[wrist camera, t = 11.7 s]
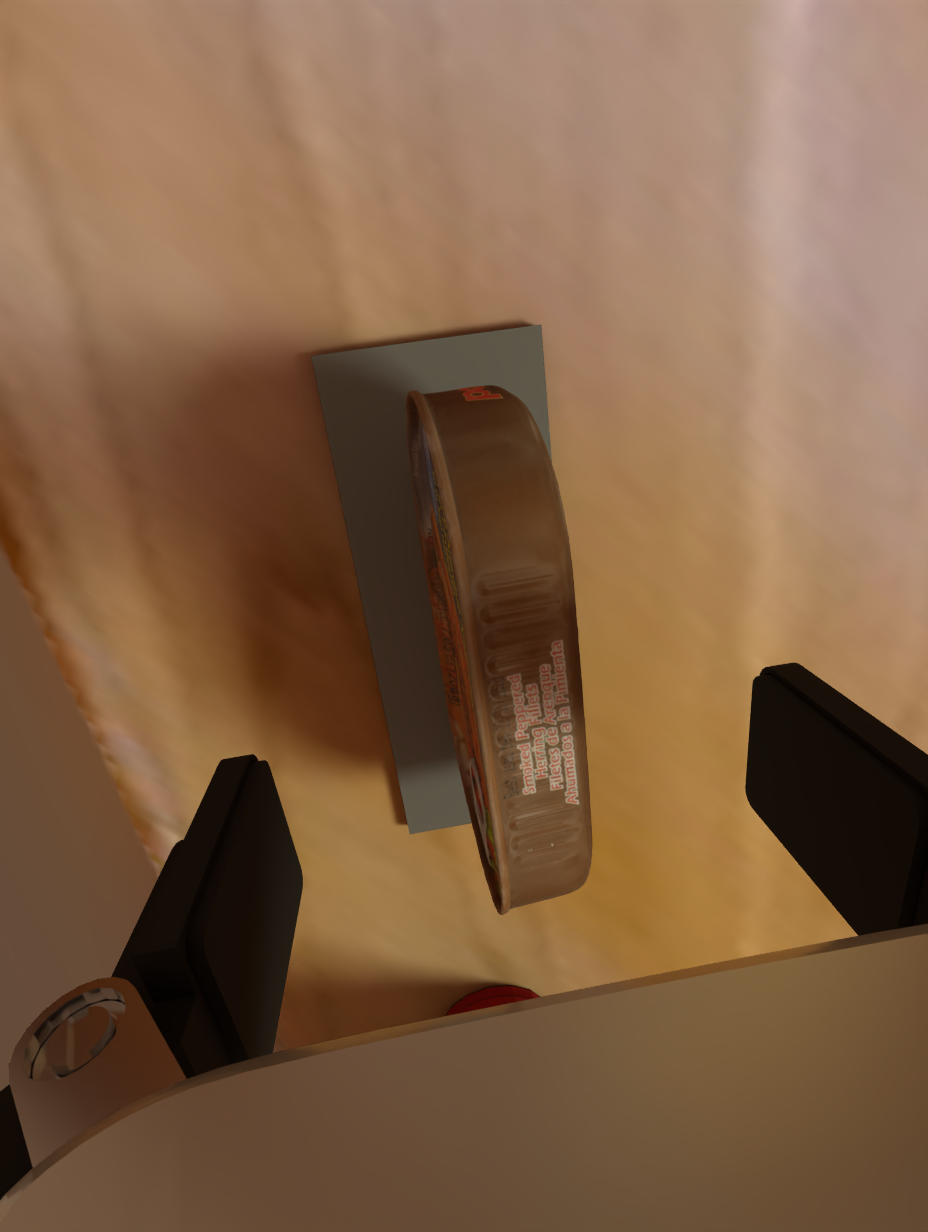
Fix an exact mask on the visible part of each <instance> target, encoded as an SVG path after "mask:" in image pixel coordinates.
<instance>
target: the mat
mask: <svg viewBox="0 0 928 1232" xmlns="http://www.w3.org/2000/svg"><path fill="white" fill-rule="evenodd" d="M311 358H312V363H313V367H314V372H315V377H316V382H317V387H318V392H319V397H320V401H321V406H322V411H323V416H324V421H325V426H326V431H327V435H328V440H329V445H330V450H331V455H332V460H333V464H334V469H335V474H336V479H337V484H338V489H339V494H340V498H341V503H342V508H343V513H344V518H345V523H346V528H347V532H348V537H349V542H350V547H351V552H352V557H353V561H354V566H355V571H356V576H357V581H358V586H359V591H360V595H361V600H362V605H363V610H364V615H365V620H366V625H367V629H368V634H369V639H370V644H371V649H372V654H373V658H374V663H375V668H376V673H377V678H378V683H379V688H380V692H381V697H382V702H383V707H384V712H385V717H386V722H387V726H388V731H389V736H390V741H391V746H392V751H393V755H394V760H395V765H396V770H397V775H398V780H399V785H400V789H401V794H402V799H403V804H404V809H405V814H406V819H407V823H408V828H409V833H410V834H414V833H419V832H425V831H430V830H436V829H442V828H447V827H453V826H458V825H464V824H469V823H472V822H471V818H470V814H469V809H468V805H467V802H466V798H465V793H464V788H463V785H462V780H461V775H460V771H459V766H458V761H457V756H456V752H455V746H454V741H453V734H452V730H451V725H450V721H449V715H448V709H447V703H446V697H445V691H444V685H443V679H442V673H441V666H440V660H439V654H438V647H437V641H436V636H435V629H434V622H433V617H432V611H431V604H430V598H429V592H428V586H427V580H426V574H425V568H424V562H423V556H422V549H421V544H420V537H419V531H418V525H417V517H416V511H415V502H414V497H413V492H412V485H411V477H410V470H409V463H408V453H407V429H406V398H407V395H408V392H410V391H414V390H415V391H418V392H420V393H421V394H427V393H436V392H443V391H449V390H455V389H461V388H467V387H474V386H486V385H495V386H499V387H501V388H503V389H505V390H507V391H508V392H510V393H512V394H513V395H515V396H517V397H518V398H519V399H520V400H521V401H522V402H523V403H524V404H525V405H526V406H527V408H528V409H529V411H530V413H531V414H532V416H533V418H534V420H535V422H536V424H537V426H538V428H539V430H540V433H541V435H542V437H543V440H544V442H545V444H546V447H547V450H548V453H549V456H550V460H551V447H550V434H549V421H548V407H547V394H546V381H545V367H544V354H543V341H542V328H541V325H534V326H527V327H520V328H512V329H505V330H498V331H490V332H483V333H476V334H468V335H461V336H454V337H446V338H439V339H431V340H424V341H417V342H409V343H402V344H395V345H387V346H380V347H373V348H365V349H358V350H351V351H343V352H336V353H329V354H321V355H314V356H311ZM551 463H552V460H551Z"/></svg>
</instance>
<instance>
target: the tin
mask: <svg viewBox="0 0 928 1232" xmlns="http://www.w3.org/2000/svg"><path fill="white" fill-rule="evenodd" d="M406 429H407V453H408V463H409V470H410V477H411V485H412V492H413V497H414V502H415V511H416V517H417V525H418V531H419V537H420V544H421V549H422V556H423V562H424V568H425V574H426V580H427V586H428V592H429V598H430V604H431V611H432V617H433V622H434V629H435V636H436V641H437V647H438V654H439V660H440V666H441V673H442V679H443V685H444V691H445V697H446V703H447V709H448V715H449V721H450V725H451V730H452V734H453V741H454V746H455V752H456V756H457V761H458V766H459V771H460V775H461V780H462V785H463V788H464V793H465V798H466V802H467V805H468V809H469V814H470V818H471V822H472V826H473V830H474V833H475V837H476V841H477V846H478V850H479V854H480V858H481V863H482V866H483V869H484V872H485V877H486V881H487V883H488V886H489V890H490V893H491V896H492V900H493V902H494V905H495V907H496V909H497V912H498V913H499V914H500V915H504V914H506V913H507V912H508V911H509V910H510V909H512V908H515V907H519V906H524V905H527V904H531V903H535V902H539V901H543V900H547V899H551V898H555V897H558V896H562V895H565V894H568V893H571V892H573V891H575V890H578V889H579V888H580V887H582V886H583V884H584V883H585V882H586V880H587V877H588V875H589V871H590V866H591V857H592V826H591V810H590V792H589V776H588V762H587V747H586V733H585V718H584V707H583V691H582V678H581V665H580V653H579V643H578V627H577V617H576V604H575V592H574V581H573V569H572V560H571V553H570V545H569V537H568V532H567V526H566V521H565V516H564V511H563V506H562V501H561V496H560V492H559V487H558V483H557V480H556V476H555V473H554V470H553V466H552V463H551V460H550V456H549V453H548V450H547V447H546V444H545V442H544V440H543V437H542V435H541V433H540V430H539V428H538V426H537V424H536V422H535V420H534V418H533V416H532V414H531V413H530V411H529V409H528V408H527V406H526V405H525V404H524V403H523V402H522V401H521V400H520V399H519V398H518V397H517V396H515V395H513V394H512V393H510V392H508V391H507V390H505V389H503V388H501V387H499V386H495V385H486V386H474V387H467V388H461V389H455V390H449V391H443V392H436V393H427V394H421V393H420V392H418V391H415V390H414V391H410V392H408V395H407V398H406Z"/></svg>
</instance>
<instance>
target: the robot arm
mask: <svg viewBox="0 0 928 1232" xmlns="http://www.w3.org/2000/svg"><path fill="white" fill-rule="evenodd" d="M745 789H746V796H747V799H748V801H749V803H750V805H751V807H752V808H753V810H754V811H755V812H756V813H757V814H758V816H759V817H760V818H761V819H762V820H763V822H764V823H765V824H766V825H767V826H768V828H769V829H770V830H771V831H772V832H773V834H774V835H775V836H776V837H777V838H778V840H779V841H780V842H781V843H782V844H783V846H784V847H785V848H786V849H787V850H788V852H789V853H790V854H791V855H792V856H793V858H794V859H795V860H796V861H797V862H798V864H799V865H800V866H801V867H802V868H803V870H804V871H805V872H806V873H807V875H808V876H809V877H810V878H811V879H812V881H813V882H814V883H815V884H816V885H817V887H818V888H819V889H820V890H821V891H822V893H823V894H824V895H825V896H826V897H827V899H828V900H829V901H830V902H831V903H832V905H833V906H834V907H835V908H836V909H837V911H838V912H839V913H840V914H841V915H842V917H843V918H844V919H845V920H846V921H847V923H848V924H849V925H850V926H851V927H852V929H853V930H854V931H855V932H856V933H857V935H858V936H855V937H850V938H845V939H839V940H834V941H829V942H823V943H818V944H813V945H808V946H802V947H797V948H792V949H786V950H781V951H776V952H770V953H765V954H760V955H755V956H749V957H744V958H739V959H733V960H728V961H723V962H718V963H713V964H708V965H702V966H697V967H692V968H687V969H682V970H677V971H672V972H666V973H661V974H656V975H651V976H646V977H641V978H636V979H630V980H625V981H620V982H615V983H610V984H605V985H600V986H595V987H590V988H585V989H579V990H574V991H569V992H564V993H559V994H554V995H549V996H544V997H539V998H534V999H529V1000H524V1001H519V1002H514V1003H509V1004H504V1005H499V1006H494V1007H489V1008H484V1009H479V1010H474V1011H469V1012H464V1013H459V1014H454V1015H449V1016H444V1017H440V1018H435V1019H430V1020H425V1021H420V1022H415V1023H410V1024H405V1025H400V1026H395V1027H390V1028H385V1029H380V1030H376V1031H371V1032H366V1033H362V1034H357V1035H353V1036H348V1037H344V1038H339V1039H335V1040H330V1041H326V1042H321V1043H316V1044H312V1045H307V1046H303V1047H298V1048H294V1049H289V1050H285V1051H280V1052H276V1053H273V1048H274V1042H275V1037H276V1031H277V1026H278V1020H279V1015H280V1009H281V1004H282V998H283V993H284V988H285V982H286V977H287V971H288V966H289V960H290V955H291V949H292V944H293V938H294V933H295V927H296V922H297V916H298V911H299V905H300V900H301V894H302V888H303V876H302V870H301V866H300V863H299V860H298V856H297V853H296V850H295V847H294V844H293V840H292V837H291V834H290V831H289V827H288V824H287V821H286V818H285V815H284V811H283V808H282V805H281V802H280V798H279V795H278V792H277V789H276V786H275V782H274V779H273V776H272V773H271V770H270V767H269V764H268V762H267V761H266V760H263V761H258V759H257V757H256V756H255V755H253V754H251V755H245V756H239V757H233V758H228V759H223V760H221V761H220V763H219V764H218V766H217V769H216V771H215V773H214V775H213V777H212V780H211V782H210V784H209V786H208V788H207V790H206V793H205V795H204V797H203V799H202V801H201V803H200V806H199V808H198V810H197V812H196V814H195V816H194V819H193V821H192V823H191V825H190V827H189V830H188V832H187V834H186V836H185V838H184V840H181V841H179V842H178V843H176V844H175V846H174V847H173V849H172V850H171V852H170V854H169V856H168V859H167V861H166V863H165V865H164V867H163V869H162V871H161V873H160V875H159V877H158V880H157V882H156V884H155V886H154V888H153V890H152V892H151V894H150V897H149V899H148V901H147V903H146V905H145V907H144V909H143V911H142V913H141V915H140V917H139V920H138V922H137V924H136V926H135V928H134V930H133V932H132V934H131V936H130V939H129V941H128V943H127V945H126V947H125V949H124V951H123V953H122V955H121V957H120V959H119V962H118V964H117V966H116V968H115V970H114V972H113V974H112V976H111V977H108V978H100V979H96V980H93V981H91V982H88V983H85V984H83V985H80V986H78V987H76V988H75V989H73V990H71V991H70V992H68V993H66V994H64V995H63V996H61V997H60V998H58V999H57V1000H56V1001H55V1002H53V1003H52V1004H51V1005H50V1006H49V1007H47V1008H46V1009H45V1010H44V1011H42V1013H41V1014H40V1015H39V1016H38V1017H37V1018H36V1019H35V1020H34V1021H33V1022H32V1023H31V1025H30V1026H29V1027H28V1028H27V1029H26V1031H25V1032H24V1034H23V1035H22V1037H21V1039H20V1040H19V1042H18V1043H17V1045H16V1046H15V1049H14V1051H13V1054H12V1057H11V1060H10V1063H9V1083H10V1084H9V1085H8V1086H7V1087H5V1088H4V1089H3V1090H2V1091H0V1232H928V755H927V754H926V753H924V752H923V751H922V750H920V749H919V748H917V747H916V746H915V745H913V744H912V743H910V742H909V741H907V740H906V739H905V738H903V737H902V736H900V735H899V734H898V733H896V732H895V731H893V730H892V729H890V728H889V727H888V726H886V725H885V724H883V723H882V722H881V721H879V720H878V719H876V718H875V717H874V716H872V715H871V714H869V713H868V712H866V711H865V710H864V709H862V708H861V707H859V706H858V705H857V704H855V703H854V702H852V701H851V700H849V699H848V698H847V697H845V696H844V695H842V694H841V693H840V692H838V691H837V690H835V689H834V688H832V687H831V686H830V685H828V684H827V683H825V682H824V681H823V680H821V679H820V678H818V677H817V676H815V675H814V674H813V673H811V672H810V671H808V670H807V669H806V668H804V667H803V666H801V665H800V664H798V663H788V664H782V665H776V666H770V667H765V668H764V669H762V671H761V673H760V676H757V677H755V679H754V680H753V686H752V700H751V714H750V729H749V743H748V757H747V772H746V786H745Z"/></svg>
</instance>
